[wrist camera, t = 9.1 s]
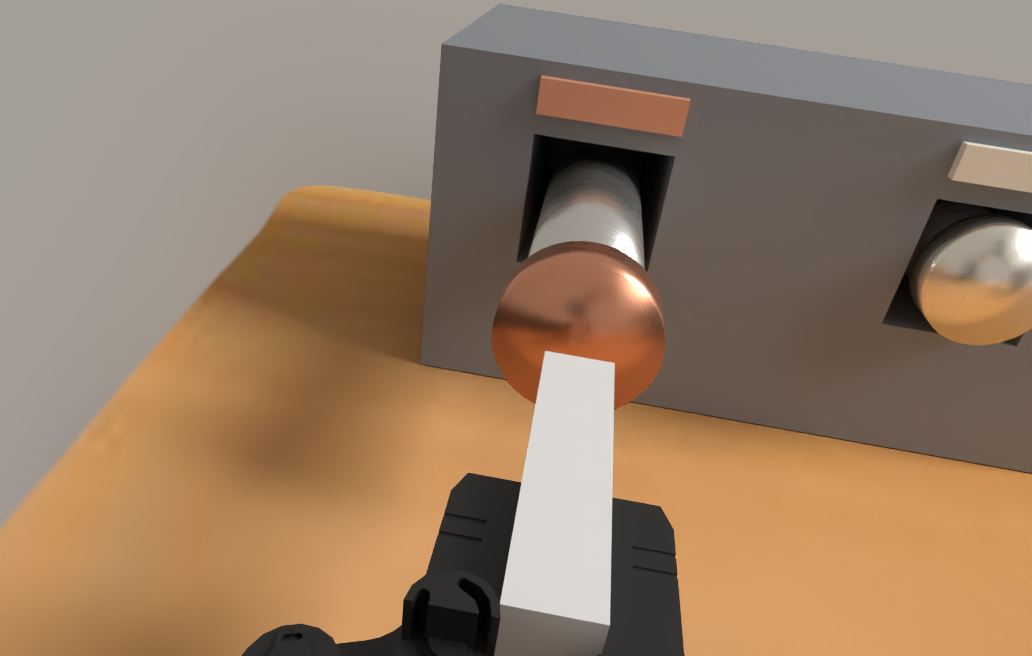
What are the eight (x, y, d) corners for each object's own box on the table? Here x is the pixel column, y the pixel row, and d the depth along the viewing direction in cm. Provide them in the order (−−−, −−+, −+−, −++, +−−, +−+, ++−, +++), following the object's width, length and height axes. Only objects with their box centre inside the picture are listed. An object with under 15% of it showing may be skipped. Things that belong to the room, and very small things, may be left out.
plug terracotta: (644, 427, 19) (684, 282, 17) (483, 398, 19) (501, 251, 17) (637, 254, 29) (662, 147, 27) (530, 236, 29) (546, 129, 27)
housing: (1044, 480, 29) (1250, 171, 23) (417, 369, 30) (438, 45, 24) (925, 321, 41) (1038, 85, 34) (474, 244, 42) (499, 4, 35)
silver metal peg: (1026, 354, 26) (1092, 242, 24) (903, 333, 26) (955, 220, 24) (915, 233, 36) (953, 146, 33) (825, 218, 36) (858, 131, 34)
